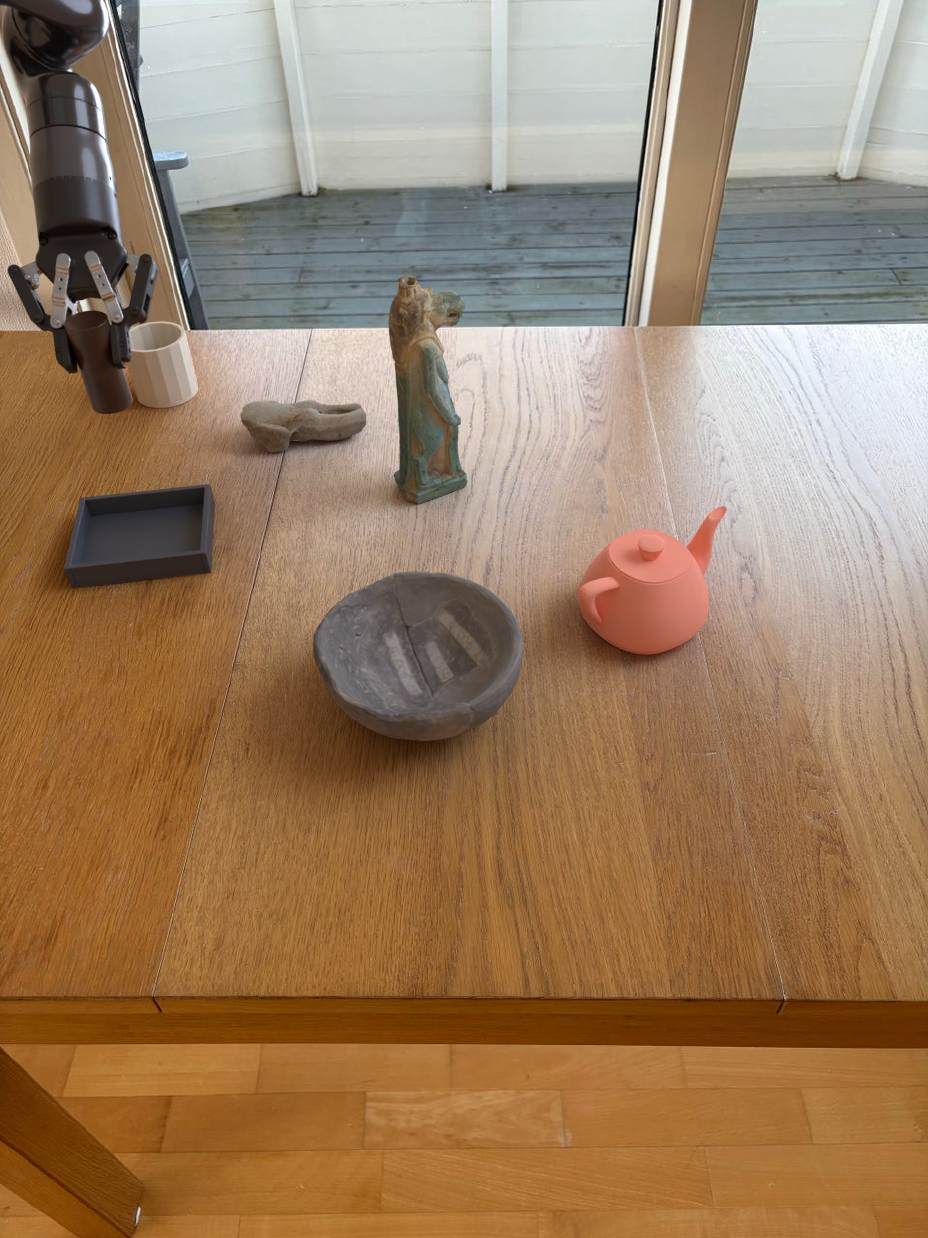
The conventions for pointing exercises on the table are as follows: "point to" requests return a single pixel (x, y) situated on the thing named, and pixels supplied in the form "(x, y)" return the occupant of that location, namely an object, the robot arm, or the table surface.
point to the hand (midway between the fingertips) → (95, 367)
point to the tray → (141, 536)
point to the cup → (161, 365)
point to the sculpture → (300, 422)
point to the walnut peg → (98, 362)
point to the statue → (424, 392)
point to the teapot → (649, 588)
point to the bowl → (419, 655)
